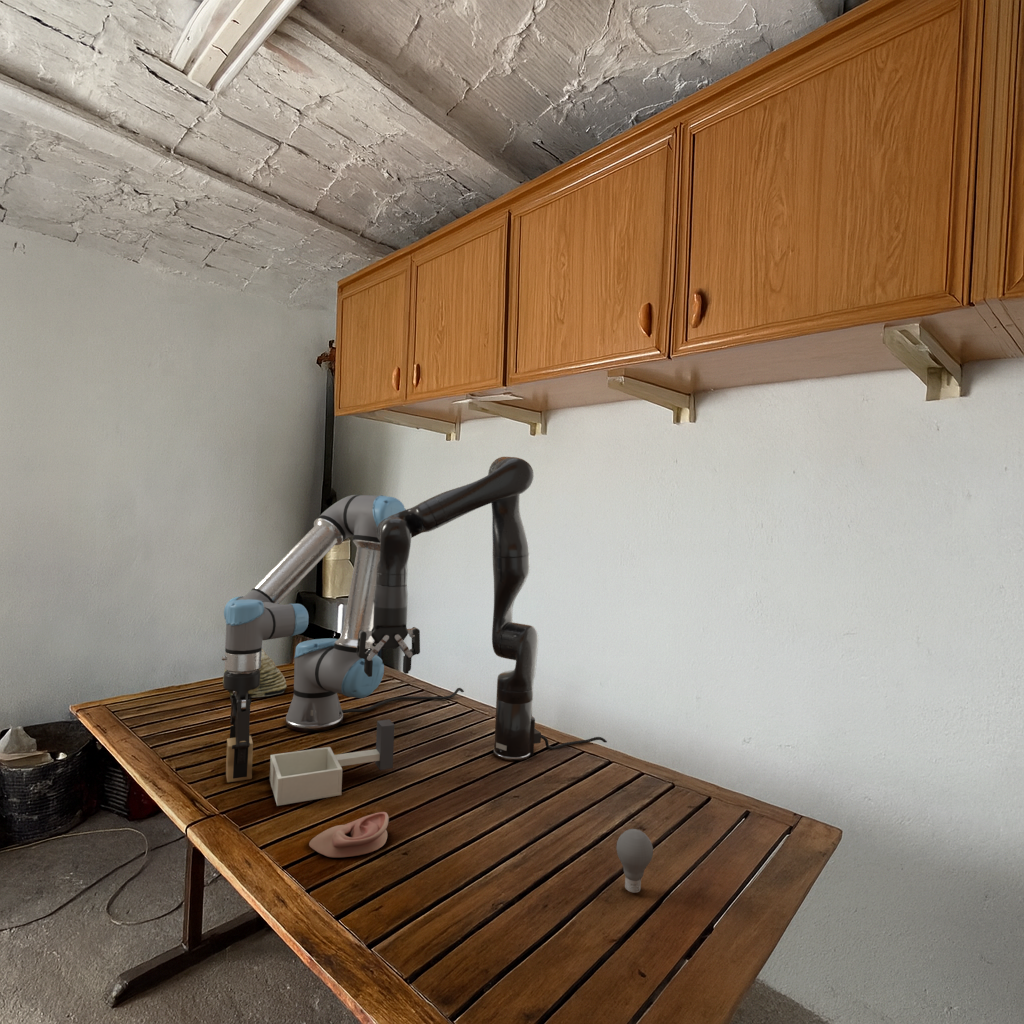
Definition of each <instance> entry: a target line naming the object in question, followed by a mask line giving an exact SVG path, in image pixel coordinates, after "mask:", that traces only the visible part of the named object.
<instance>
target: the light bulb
mask: <svg viewBox="0 0 1024 1024" xmlns="http://www.w3.org/2000/svg"><path fill="white" fill-rule="evenodd" d="M615 849H616V854H617V857H618V859H619V861H620V863H621V865H622V867H623V873H624V874H623V875H624V876H625V878H624V888H625V890H627V891H628V892H630V893H634V894H635V893H639V892H640V891H641V889H642V887H641V886H642V879H643V877H644V875H645V871H646V868H647V867H648V866H649V864H650V863H651V861H652V859H653V855H654V847H653V843H652V841H651V838H649V836H648V835H647V834H646V833H645V832H643V831H642V830H641V829H636V828H629V829H627V830H625V831H623V832H622V833H621V834H620V835H619V837H618V839H617V841H616V847H615Z"/></svg>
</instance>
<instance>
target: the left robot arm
mask: <svg viewBox="0 0 1024 1024" xmlns="http://www.w3.org/2000/svg"><path fill="white" fill-rule="evenodd" d="M404 510H407V508H405V505H404V503H403V502H402V501H401V500H400V499H398V498H397V497H394V496H387V495H383V494H380V495H374V494H373V495H372V494H371V495H370V494H369V495H368V494H351V495H347V496H345V497H343V498H341V499H339V500H338V501H336V502H335V503H333V504H332V505H330V506H329V507H328V508H326V509H325V510H324V511H323V512H322V513H321V514H320V515H319V516H318V517H317V518H316V519H315V520H314V521H313V527H312V528H311V529H310V530H309V531H308V532H307V533H306V534H305V535H304V536H303V537H302V538H301V539H300V540H299V541H298V542H297V543H296V544H295V545H294V546H293V547H292V548H291V549H290V550H289V551H288V552H287V553H286V554H285V555H284V556H283V557H282V558H281V559H280V560H279V561H278V562H277V563H276V564H275V565H274V567H272V568H271V569H270V570H269V571H268V572H267V574H265V575H264V576H263V577H262V578H261V579H260V580H259V582H257V583H256V584H255V585H254V587H252V588H251V589H250V590H249V591H248V592H247V593H246V594H245V595H244V596H242V595H241V596H235V597H233V598H231V599H229V600H228V601H227V602H226V604H225V606H224V609H223V618H224V620H225V647H224V648H225V649H224V651H225V652H224V654H225V655H223V656H221V661H224V667H223V668H224V671H223V675H224V676H223V677H224V681H223V680H222V687H223V689H224V690H226V691H228V692H229V691H233V695H231V698H230V715H229V718H230V720H229V721H230V728H229V738H235V737H236V744H235V745H232V749H234V767H233V779H234V778H241V777H247V766H248V747H249V746H250V743H249V736H250V725H251V723H250V722H251V721H250V720H251V719H250V716H251V705H252V698H251V697H250V694H248V691H250V690H253V689H256V688H257V687H259V685H260V671H259V668H260V667H261V655H262V649H263V641H268V640H275V639H280V638H287V637H290V638H291V637H294V636H296V635H297V636H298V635H301V634H303V633H304V632H305V631H306V630H307V629H308V627H309V626H308V625H309V618H310V617H309V612H308V610H307V608H306V607H305V606H304V605H303V604H302V603H288V604H282V601H284V599H285V598H286V597H287V596H288V595H289V594H290V593H291V592H292V591H294V589H295V588H296V587H297V586H298V585H299V584H300V583H301V582H302V581H303V579H304V578H305V577H306V576H307V575H308V574H309V573H310V572H311V571H312V570H313V569H314V568H315V567H316V566H317V564H318V563H320V561H322V560H323V558H324V557H325V556H327V554H328V553H329V552H330V551H331V550H332V549H333V548H334V547H335V546H340V545H341V544H342V543H344V541H345V540H347V539H348V538H351V537H352V542H353V544H354V546H355V547H356V553H355V558H354V565H353V570H352V575H351V582H350V587H349V593H348V598H347V604H346V609H345V615H344V622H343V627H342V632H341V636H340V637H339V638H335V637H334V638H331V637H329V638H315V639H308V640H304V641H301V642H299V643H298V644H297V645H296V646H295V652H294V656H293V659H294V661H293V662H294V663H293V664H294V668H293V695H292V696H293V697H292V699H291V702H290V704H289V708H288V711H287V713H286V715H285V726H286V728H287V729H289V730H291V731H294V732H295V731H296V732H301V733H316V732H325V731H329V730H332V729H335V728H337V727H339V726H340V725H342V723H343V722H344V714H349V713H365V712H369V711H371V710H372V711H373V710H374V709H375V708H377V707H380V706H383V705H385V704H388V703H391V702H395V701H402V700H403V701H404V700H419V701H420V700H422V701H423V700H430V701H431V700H434V701H435V700H436V701H438V700H439V701H441V700H443V701H444V700H449V699H452V698H454V697H455V696H456V695H458V692H460V693H464V692H465V690H464V689H463V688H462V687H457V688H456V689H455V691H454V692H453V693H451V694H449V695H446V696H411V695H410V696H408V695H407V696H396V697H391V698H387V699H385V700H382V701H379V702H377V703H375V704H373V705H371V706H369V707H365V708H349V709H342V706H341V702H340V699H339V695H343V696H344V697H347V698H355V699H365V698H367V697H369V696H370V695H372V694H373V693H374V691H375V690H377V688H378V687H379V686H380V684H381V682H382V680H383V677H384V673H385V664H384V663H383V659H382V658H381V657H380V656H379V655H378V653H379V652H378V653H376V654H375V656H374V657H373V658H372V661H373V667H372V677H368V676H367V674H366V673H365V672H364V663H365V660H364V659H363V658H359V657H358V656H357V654H356V653H357V643H358V633H359V631H360V630H363V631H372V629H373V617H374V594H375V588H376V573H377V564H378V562H379V560H380V541H379V539H378V537H377V527H378V525H379V523H380V522H381V521H382V520H383V519H385V518H387V517H389V516H391V515H394V514H396V513H399V512H401V511H404ZM373 641H374V639H373V638H372V636H370V637H369V639H368V640H367V641H366V645H365V653H366V652H367V651H368V649H369V648H370V645H371V644H372V643H373ZM225 670H227V671H225ZM338 694H339V695H338ZM240 741H246V742H240Z"/></svg>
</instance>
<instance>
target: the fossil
mask: <svg viewBox="0 0 1024 1024" xmlns="http://www.w3.org/2000/svg"><path fill="white" fill-rule="evenodd" d="M225 671H227V670H225V669H224V672H225ZM259 671H260V685H259V687H257V688H256V689H253V690H250V691H248V694H250V697H251V699H252V698H264V697H271V696H275V695H281V694H284V693H285V691H286V689H287V687H288V686H287V680H286V678H285V676H284V674H283V673H282V672H281V669H279V668H278V667H277V665H276V663H275V662H274V660H273V659H272V658H271V657H270V656H269V655H268V654H267V653H266V652H265V650H264V649H263V648H262V655H261V667H260V668H259ZM222 676H223V677H222V682H223V681H224V674H223V675H222ZM228 693H229V698H230V699H231V695H233V691H228Z"/></svg>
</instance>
